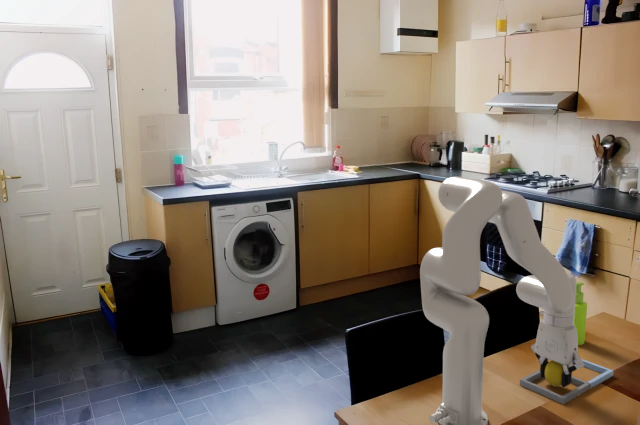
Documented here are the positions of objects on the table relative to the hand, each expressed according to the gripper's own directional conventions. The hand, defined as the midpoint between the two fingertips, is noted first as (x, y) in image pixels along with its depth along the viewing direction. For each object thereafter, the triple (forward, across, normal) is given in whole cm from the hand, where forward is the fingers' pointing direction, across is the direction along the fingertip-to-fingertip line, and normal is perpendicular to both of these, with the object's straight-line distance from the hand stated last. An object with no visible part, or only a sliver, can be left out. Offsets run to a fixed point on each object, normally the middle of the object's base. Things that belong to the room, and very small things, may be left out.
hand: (555, 380), depth 153 cm
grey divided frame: (+2, 0, +6) cm, 6 cm away
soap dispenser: (+2, -13, +32) cm, 34 cm away
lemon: (+2, 0, 0) cm, 2 cm away
